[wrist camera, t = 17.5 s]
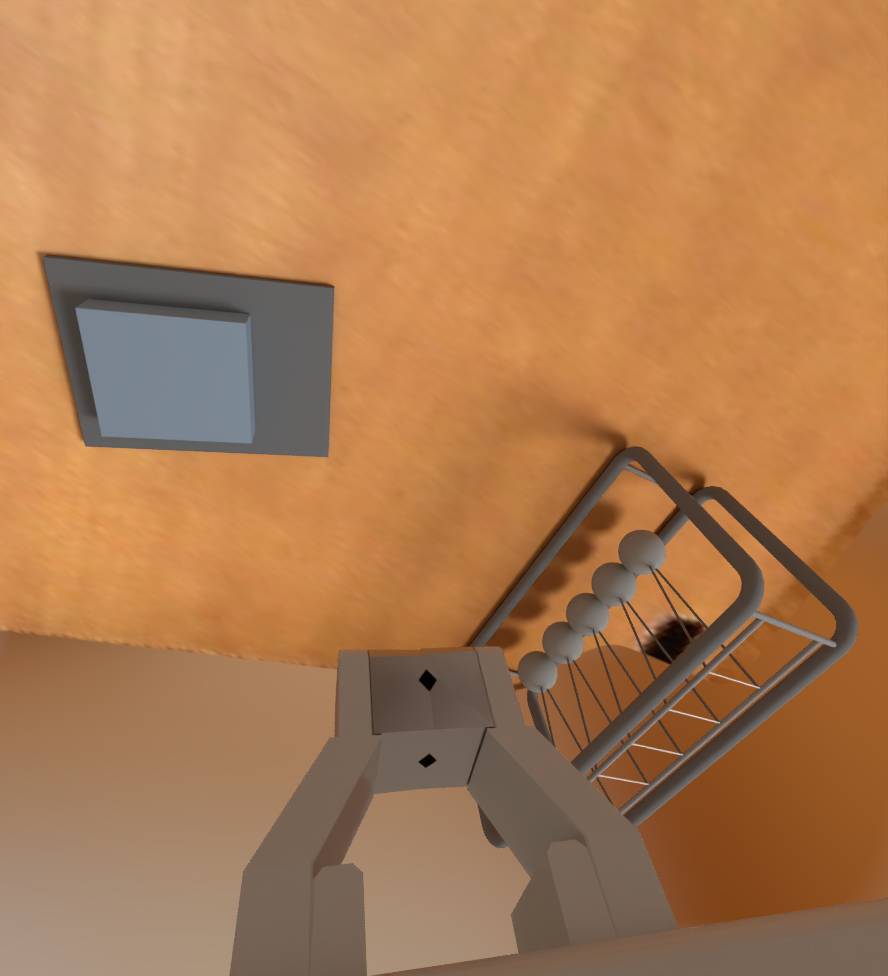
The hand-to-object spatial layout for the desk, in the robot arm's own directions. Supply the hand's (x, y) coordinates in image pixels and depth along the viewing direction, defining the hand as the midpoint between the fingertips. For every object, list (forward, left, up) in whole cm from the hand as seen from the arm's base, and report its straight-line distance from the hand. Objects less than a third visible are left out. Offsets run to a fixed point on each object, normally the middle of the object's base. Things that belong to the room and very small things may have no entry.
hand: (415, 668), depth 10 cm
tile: (+6, -7, -28) cm, 30 cm away
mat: (+6, -10, -30) cm, 32 cm away
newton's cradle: (+25, +21, -30) cm, 45 cm away
